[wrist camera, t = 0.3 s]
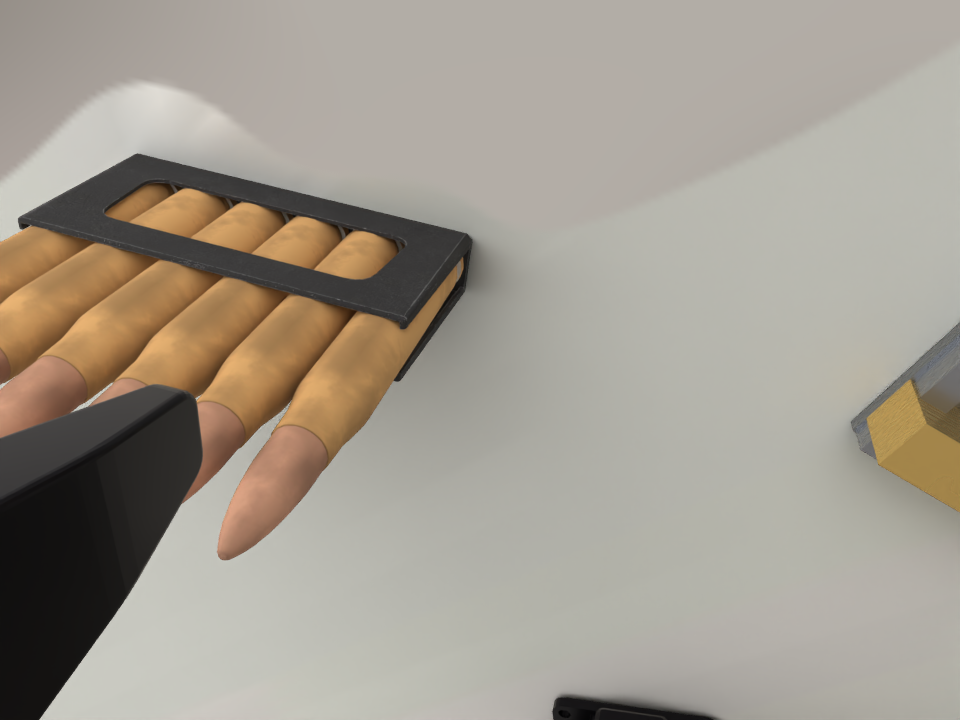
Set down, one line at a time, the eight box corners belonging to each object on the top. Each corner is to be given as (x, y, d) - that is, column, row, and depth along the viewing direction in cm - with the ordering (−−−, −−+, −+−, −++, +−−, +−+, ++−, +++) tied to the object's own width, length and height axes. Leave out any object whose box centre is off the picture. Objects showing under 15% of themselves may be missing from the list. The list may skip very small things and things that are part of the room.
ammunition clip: (473, 235, 22) (274, 535, 12) (466, 291, 23) (276, 610, 13) (134, 152, 23) (-291, 360, 13) (141, 209, 24) (-250, 440, 14)
